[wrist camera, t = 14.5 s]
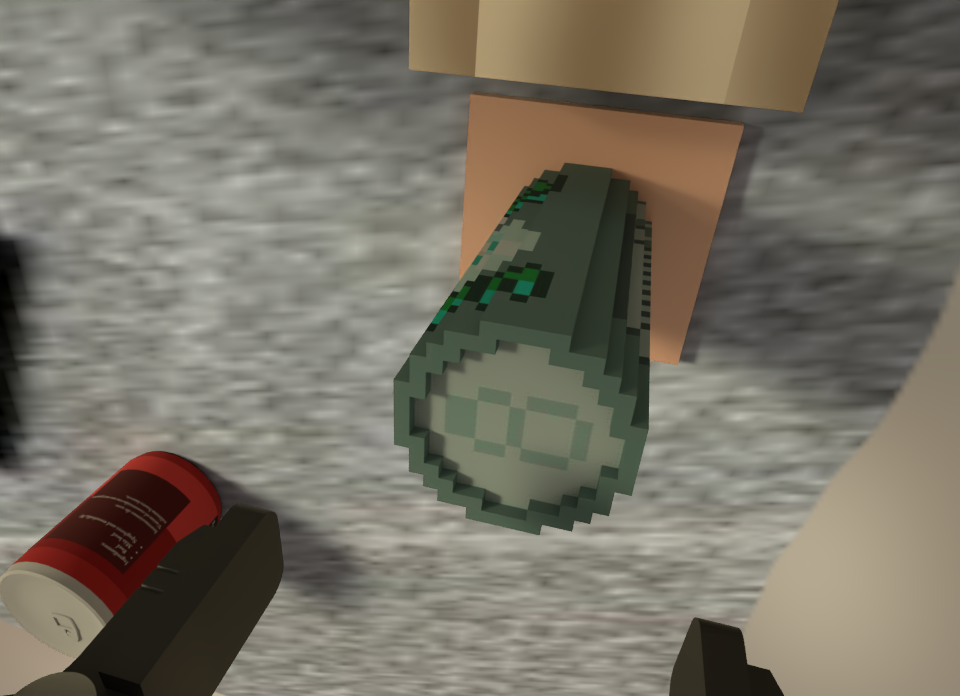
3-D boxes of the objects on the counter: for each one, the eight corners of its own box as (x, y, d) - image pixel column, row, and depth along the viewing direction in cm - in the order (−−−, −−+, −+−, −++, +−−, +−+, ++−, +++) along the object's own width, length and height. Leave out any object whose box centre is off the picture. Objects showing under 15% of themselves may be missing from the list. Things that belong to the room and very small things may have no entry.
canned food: (168, 534, 48) (52, 663, 39) (111, 453, 45) (-31, 572, 36) (244, 527, 45) (139, 664, 36) (189, 441, 42) (57, 567, 33)
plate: (460, 317, 32) (457, 324, 31) (474, 91, 26) (470, 94, 26) (677, 356, 30) (677, 365, 29) (741, 122, 25) (744, 126, 24)
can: (518, 156, 27) (392, 305, 14) (662, 174, 25) (668, 353, 13) (505, 285, 30) (394, 501, 17) (633, 305, 29) (616, 553, 16)
